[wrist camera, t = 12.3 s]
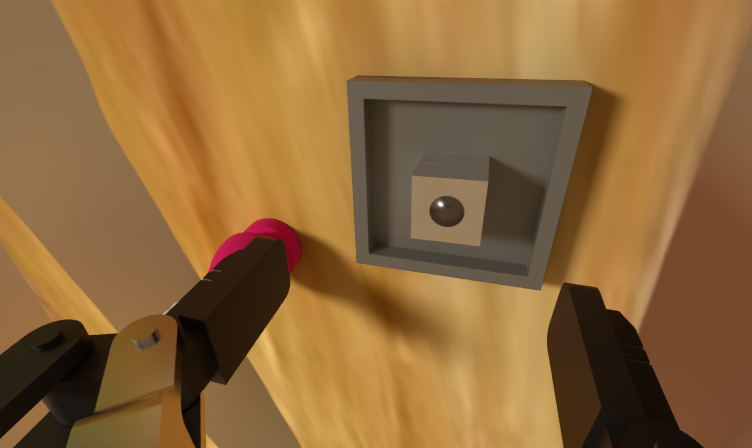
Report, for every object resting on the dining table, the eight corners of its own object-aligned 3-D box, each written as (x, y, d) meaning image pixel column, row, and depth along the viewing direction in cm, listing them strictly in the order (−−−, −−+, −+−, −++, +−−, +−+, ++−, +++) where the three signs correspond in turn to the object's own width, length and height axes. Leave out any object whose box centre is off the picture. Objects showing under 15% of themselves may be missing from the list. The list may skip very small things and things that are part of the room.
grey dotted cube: (421, 208, 32) (410, 238, 28) (423, 151, 29) (411, 175, 25) (482, 214, 31) (479, 246, 26) (489, 156, 28) (488, 181, 24)
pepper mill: (233, 237, 41) (53, 395, 24) (267, 200, 37) (80, 356, 20) (282, 281, 42) (142, 459, 25) (319, 249, 38) (184, 434, 22)
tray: (364, 248, 37) (356, 262, 35) (357, 75, 29) (346, 80, 27) (537, 272, 33) (540, 290, 31) (584, 80, 25) (593, 87, 23)
